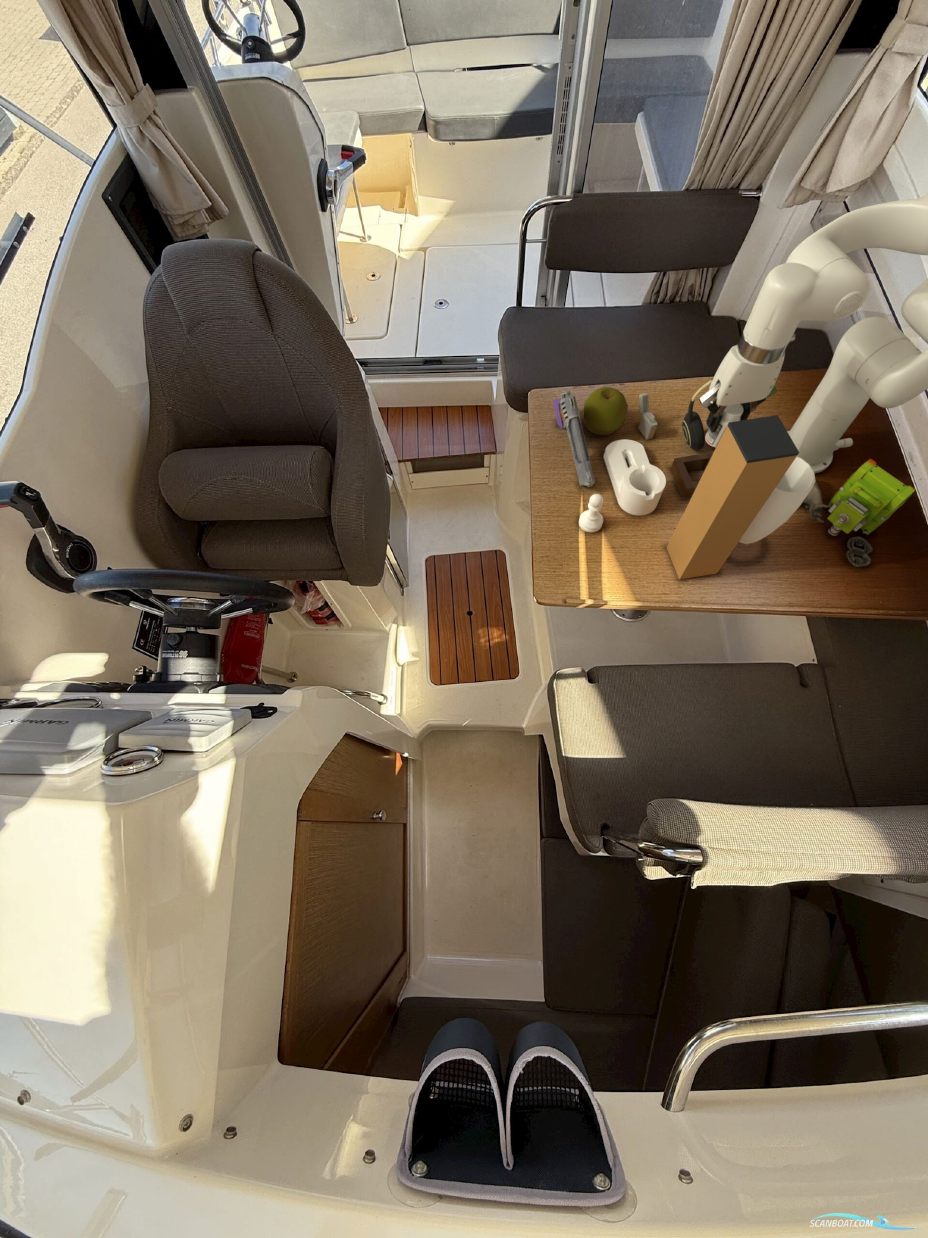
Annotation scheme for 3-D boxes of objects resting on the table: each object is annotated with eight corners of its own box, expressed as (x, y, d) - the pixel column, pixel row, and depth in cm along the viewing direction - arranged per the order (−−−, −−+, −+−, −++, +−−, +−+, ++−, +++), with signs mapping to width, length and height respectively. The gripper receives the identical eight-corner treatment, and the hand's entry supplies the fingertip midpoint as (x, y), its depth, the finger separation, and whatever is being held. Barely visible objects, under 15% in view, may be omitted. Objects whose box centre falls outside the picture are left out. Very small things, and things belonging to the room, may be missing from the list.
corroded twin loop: (841, 564, 116) (844, 561, 115) (845, 535, 120) (848, 532, 119) (867, 572, 115) (871, 569, 114) (871, 543, 119) (874, 540, 118)
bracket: (662, 512, 124) (671, 492, 118) (623, 517, 124) (629, 498, 118) (637, 444, 133) (644, 422, 127) (600, 449, 133) (606, 427, 127)
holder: (707, 463, 130) (712, 452, 127) (721, 492, 126) (727, 482, 123) (669, 468, 129) (674, 457, 126) (682, 499, 125) (687, 488, 122)
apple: (587, 446, 133) (595, 409, 124) (574, 417, 138) (580, 379, 128) (628, 437, 134) (639, 400, 124) (613, 409, 138) (623, 371, 129)
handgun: (572, 495, 139) (584, 487, 124) (550, 402, 137) (559, 383, 122) (586, 491, 139) (599, 483, 124) (564, 399, 136) (575, 379, 121)
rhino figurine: (805, 531, 120) (820, 514, 115) (780, 481, 126) (793, 462, 121) (824, 529, 120) (839, 511, 115) (798, 479, 126) (812, 460, 121)
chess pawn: (591, 510, 125) (599, 483, 117) (606, 525, 123) (615, 498, 115) (573, 521, 124) (579, 494, 116) (588, 536, 122) (595, 510, 114)
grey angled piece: (653, 437, 134) (662, 411, 127) (646, 439, 134) (655, 413, 126) (637, 417, 137) (646, 390, 130) (631, 419, 137) (639, 392, 130)
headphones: (741, 452, 131) (781, 380, 113) (678, 460, 130) (708, 389, 113) (728, 425, 135) (765, 351, 117) (667, 432, 134) (694, 360, 117)
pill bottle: (730, 435, 117) (748, 403, 110) (725, 451, 115) (743, 419, 108) (707, 428, 118) (724, 395, 111) (701, 443, 116) (718, 411, 109)
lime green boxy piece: (828, 484, 125) (785, 517, 121) (887, 446, 110) (840, 483, 106) (869, 530, 123) (827, 565, 120) (934, 498, 108) (888, 537, 105)
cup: (733, 570, 117) (781, 504, 97) (703, 533, 121) (744, 462, 102) (775, 552, 118) (831, 483, 99) (745, 516, 123) (792, 443, 104)
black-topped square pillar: (703, 541, 120) (777, 414, 89) (717, 573, 117) (799, 452, 86) (666, 547, 120) (728, 422, 89) (679, 579, 116) (748, 460, 85)
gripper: (801, 322, 99) (758, 404, 115) (705, 337, 98) (676, 418, 115) (820, 351, 95) (773, 432, 112) (721, 367, 95) (688, 446, 111)
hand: (724, 424), depth 113 cm, fingers closed on pill bottle, 4 cm apart
